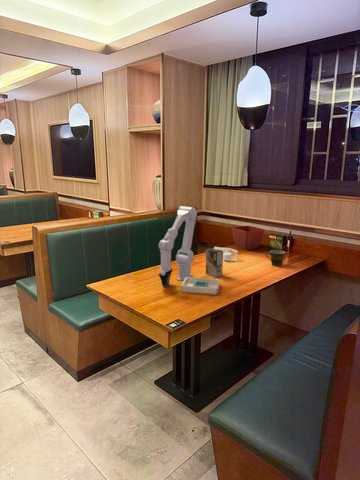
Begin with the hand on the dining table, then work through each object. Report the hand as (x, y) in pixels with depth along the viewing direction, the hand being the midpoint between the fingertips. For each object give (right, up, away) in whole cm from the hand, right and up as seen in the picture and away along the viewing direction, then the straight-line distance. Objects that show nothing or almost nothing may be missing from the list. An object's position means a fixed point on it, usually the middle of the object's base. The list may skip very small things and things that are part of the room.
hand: (166, 283), depth 195 cm
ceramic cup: (+73, +7, +39) cm, 83 cm away
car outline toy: (+41, +11, +54) cm, 69 cm away
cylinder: (0, -2, 0) cm, 2 cm away
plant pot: (+63, +18, +85) cm, 107 cm away
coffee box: (+30, +3, +21) cm, 36 cm away
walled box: (+20, -3, -3) cm, 20 cm away
